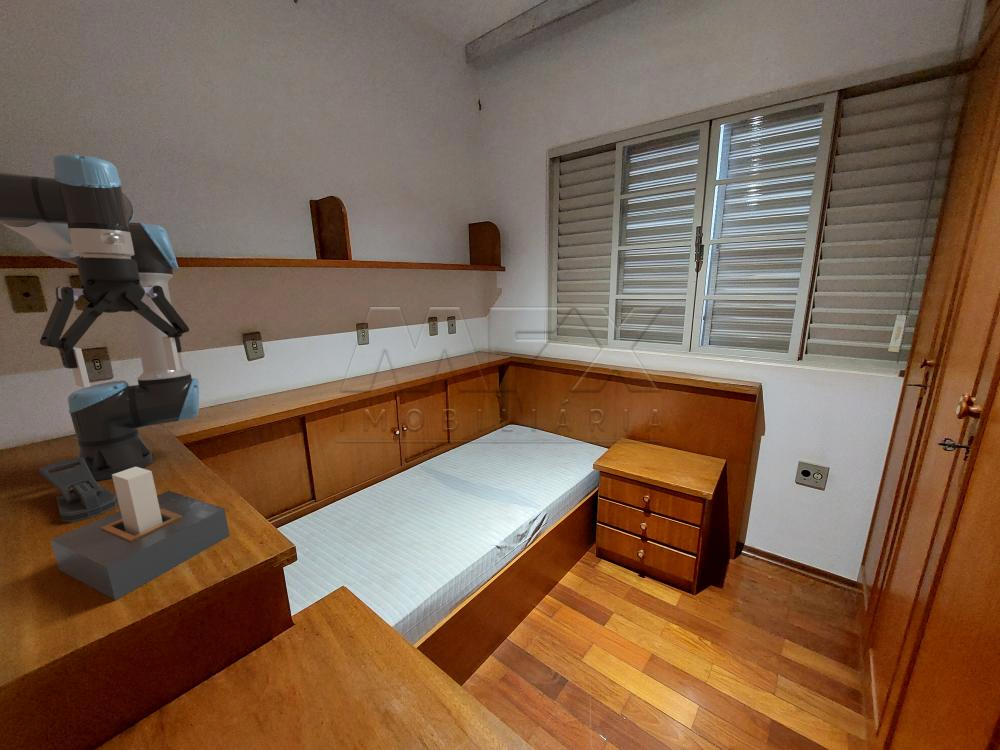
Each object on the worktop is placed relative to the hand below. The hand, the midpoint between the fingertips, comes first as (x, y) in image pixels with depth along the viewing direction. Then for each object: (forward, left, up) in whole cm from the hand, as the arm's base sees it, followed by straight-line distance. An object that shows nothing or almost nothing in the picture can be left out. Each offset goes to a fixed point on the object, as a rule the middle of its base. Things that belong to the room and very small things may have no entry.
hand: (132, 377), depth 73 cm
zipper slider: (-33, 0, -32) cm, 46 cm away
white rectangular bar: (+4, -5, -32) cm, 33 cm away
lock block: (+4, -5, -32) cm, 33 cm away
